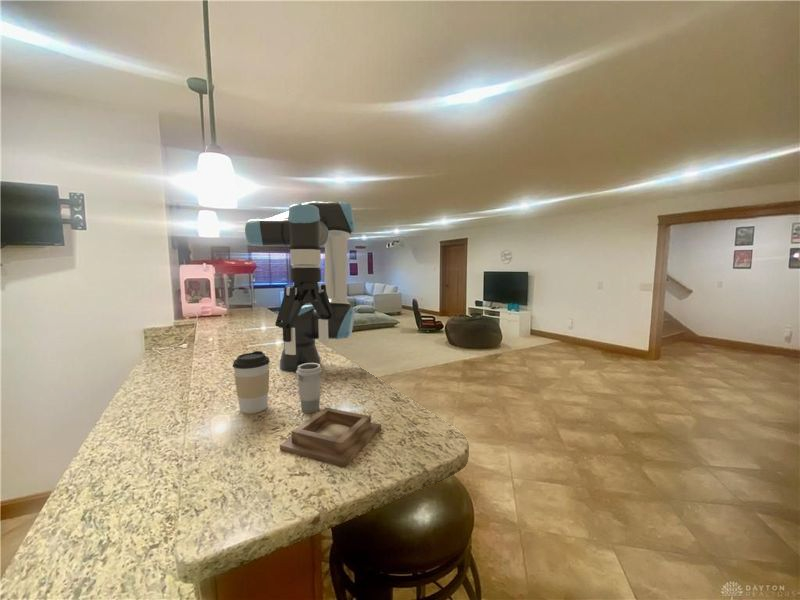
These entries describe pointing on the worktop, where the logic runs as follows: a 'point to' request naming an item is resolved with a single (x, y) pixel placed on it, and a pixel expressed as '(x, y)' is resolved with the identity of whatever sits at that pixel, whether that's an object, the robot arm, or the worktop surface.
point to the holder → (332, 436)
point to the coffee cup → (252, 381)
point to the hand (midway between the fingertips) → (308, 347)
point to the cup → (309, 386)
